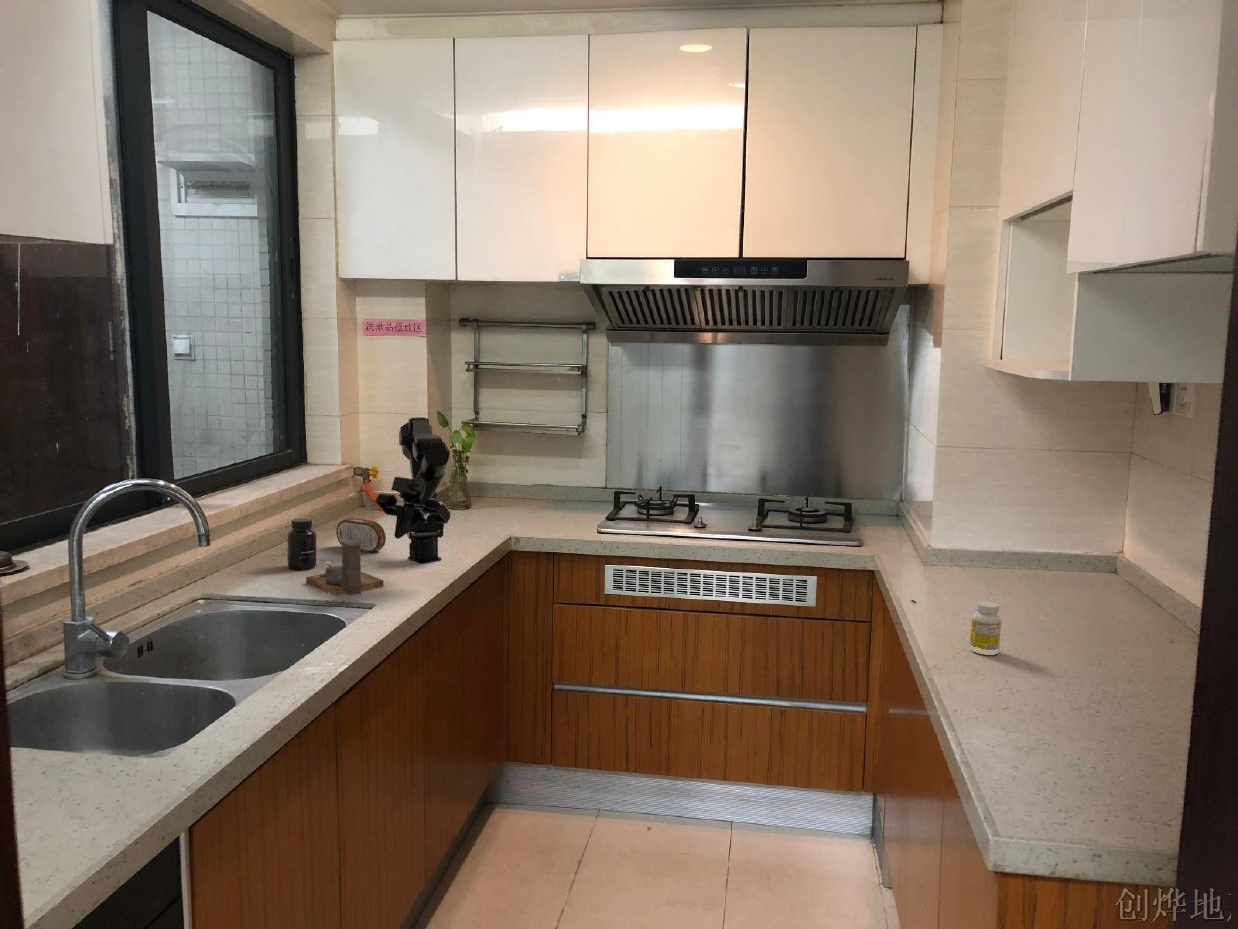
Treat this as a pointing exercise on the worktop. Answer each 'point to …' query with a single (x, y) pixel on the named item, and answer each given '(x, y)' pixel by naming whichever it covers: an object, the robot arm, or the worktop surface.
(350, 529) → the tin
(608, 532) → the worktop surface
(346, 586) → the upright block on board
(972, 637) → the supplement bottle
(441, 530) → the robot arm
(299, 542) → the supplement bottle
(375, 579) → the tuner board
